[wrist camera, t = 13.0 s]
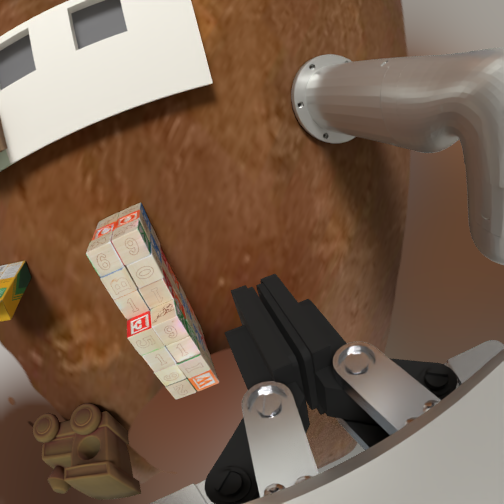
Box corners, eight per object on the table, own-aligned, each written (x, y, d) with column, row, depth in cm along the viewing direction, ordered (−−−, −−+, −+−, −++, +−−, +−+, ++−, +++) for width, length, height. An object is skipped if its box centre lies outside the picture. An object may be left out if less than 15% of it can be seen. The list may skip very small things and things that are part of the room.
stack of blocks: (97, 221, 36) (79, 266, 25) (141, 200, 36) (139, 239, 26) (165, 341, 46) (176, 401, 36) (201, 326, 47) (220, 384, 37)
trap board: (179, -26, 25) (181, -34, 23) (208, 85, 33) (212, 83, 31) (-43, 75, 20) (-52, 74, 18) (-15, 181, 28) (-24, 186, 26)
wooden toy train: (105, 394, 47) (107, 474, 33) (135, 425, 53) (145, 496, 39) (29, 413, 44) (21, 482, 30) (62, 441, 50) (62, 505, 35)
